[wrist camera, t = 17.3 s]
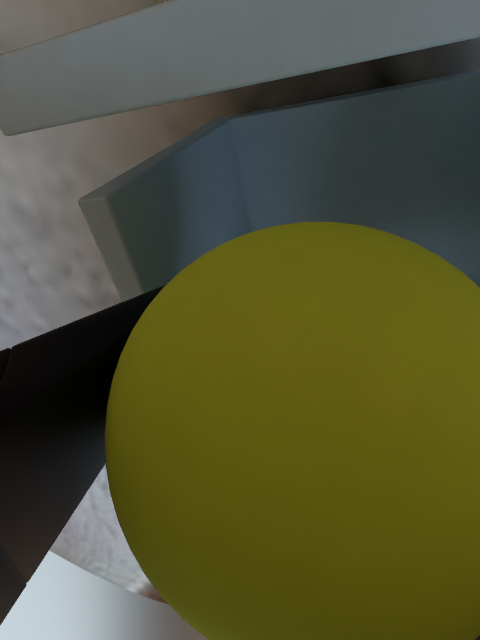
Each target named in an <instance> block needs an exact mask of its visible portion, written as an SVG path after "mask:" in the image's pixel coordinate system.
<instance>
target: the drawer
mask: <svg viewBox="0 0 480 640" xmlns="http://www.w3.org/2000/svg"><path fill="white" fill-rule="evenodd" d="M479 37H480V0H169V1H166V2H163V3H160V4H157V5H154V6H150V7H147V8H144V9H141V10H138V11H135V12H132V13H129V14H126V15H123V16H119V17H116V18H113V19H110V20H107V21H104V22H101V23H98V24H95V25H91V26H88V27H85V28H82V29H79V30H76V31H73V32H70V33H67V34H63V35H60V36H57V37H54V38H51V39H48V40H45V41H42V42H39V43H35V44H32V45H29V46H26V47H23V48H20V49H17V50H14V51H11V52H7V53H4V54H1V55H0V128H1V130H2V132H3V134H4V135H6V136H12V135H16V134H21V133H26V132H31V131H36V130H40V129H45V128H50V127H55V126H59V125H64V124H69V123H74V122H78V121H83V120H88V119H93V118H98V117H102V116H107V115H112V114H117V113H121V112H126V111H131V110H136V109H140V108H145V107H150V106H155V105H160V104H164V103H169V102H174V101H179V100H183V99H188V98H193V97H198V96H202V95H207V94H212V93H217V92H221V91H226V90H231V89H236V88H241V87H245V86H250V85H255V84H260V83H264V82H269V81H274V80H279V79H283V78H288V77H293V76H298V75H303V74H307V73H312V72H317V71H322V70H326V69H331V68H336V67H341V66H345V65H350V64H355V63H360V62H365V61H369V60H374V59H379V58H384V57H388V56H393V55H398V54H403V53H407V52H412V51H417V50H422V49H427V48H431V47H436V46H441V45H446V44H450V43H455V42H460V41H465V40H469V39H474V38H479ZM79 205H80V207H81V210H82V212H83V214H84V216H85V219H86V221H87V223H88V225H89V228H90V230H91V232H92V234H93V237H94V239H95V241H96V244H97V246H98V248H99V250H100V253H101V255H102V257H103V259H104V262H105V264H106V266H107V268H108V271H109V273H110V275H111V277H112V280H113V282H114V284H115V286H116V289H117V291H118V293H119V296H120V298H121V300H122V302H124V301H126V300H129V299H131V298H134V297H136V296H139V295H141V294H144V293H146V292H149V291H151V290H154V289H156V288H159V287H161V286H164V285H166V284H168V283H169V282H170V281H171V280H172V279H173V278H174V277H175V276H176V275H177V274H178V273H179V272H181V271H182V270H183V269H184V268H186V267H187V266H188V265H190V264H191V263H192V262H194V261H195V260H197V259H198V258H199V257H201V256H202V255H204V254H205V253H207V252H209V251H211V250H213V249H214V248H216V247H218V246H220V245H222V244H223V243H225V242H227V241H230V240H232V239H235V238H237V237H240V236H242V235H245V234H247V233H250V232H253V231H257V230H261V229H265V228H269V227H272V226H276V225H284V224H291V223H299V222H338V223H346V224H355V225H361V226H365V227H369V228H373V229H377V230H381V231H385V232H388V233H391V234H393V235H396V236H399V237H401V238H404V239H407V240H409V241H412V242H414V243H416V244H418V245H420V246H422V247H423V248H425V249H427V250H429V251H431V252H433V253H435V254H437V255H439V256H440V257H442V258H443V259H444V260H446V261H447V262H449V263H450V264H451V265H453V266H454V267H456V268H457V269H459V270H460V271H461V272H463V273H464V274H465V275H466V276H467V277H469V278H470V279H471V280H472V281H473V282H474V283H475V284H476V285H477V286H478V287H480V70H477V71H472V72H466V73H461V74H455V75H450V76H445V77H439V78H434V79H428V80H423V81H417V82H412V83H406V84H401V85H395V86H390V87H384V88H379V89H373V90H368V91H363V92H357V93H352V94H346V95H341V96H335V97H330V98H324V99H319V100H313V101H308V102H302V103H297V104H291V105H286V106H281V107H275V108H270V109H264V110H259V111H253V112H248V113H242V114H237V115H231V116H226V117H220V118H216V119H215V120H213V121H211V122H210V123H208V124H207V125H205V126H203V127H202V128H200V129H198V130H196V131H195V132H193V133H191V134H190V135H188V136H186V137H184V138H183V139H181V140H179V141H178V142H176V143H174V144H173V145H171V146H169V147H167V148H166V149H164V150H162V151H161V152H159V153H157V154H155V155H154V156H152V157H150V158H149V159H147V160H145V161H143V162H142V163H140V164H138V165H137V166H135V167H133V168H132V169H130V170H128V171H126V172H125V173H123V174H121V175H120V176H118V177H116V178H114V179H113V180H111V181H109V182H108V183H106V184H104V185H102V186H101V187H99V188H97V189H96V190H94V191H92V192H91V193H89V194H87V195H85V196H84V197H82V198H81V199H79Z"/></svg>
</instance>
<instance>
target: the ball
mask: <svg viewBox="0 0 480 640" xmlns="http://www.w3.org/2000/svg"><path fill="white" fill-rule="evenodd" d="M105 456H106V469H107V475H108V482H109V488H110V494H111V497H112V501H113V504H114V508H115V511H116V515H117V518H118V521H119V524H120V526H121V528H122V531H123V533H124V536H125V538H126V540H127V543H128V545H129V547H130V549H131V551H132V553H133V554H134V556H135V558H136V560H137V561H138V563H139V565H140V567H141V568H142V570H143V572H144V574H145V575H146V576H147V578H148V579H149V580H150V582H151V583H152V584H153V586H154V587H155V588H156V590H157V591H158V592H159V594H160V595H161V596H162V598H163V599H164V600H165V601H166V602H167V603H168V604H169V605H170V606H171V607H172V608H173V609H174V610H175V611H176V612H177V613H178V614H179V615H180V616H181V617H182V618H183V620H185V621H186V622H187V623H188V624H190V625H191V626H192V627H193V628H195V629H196V630H197V631H198V632H199V633H201V634H202V635H203V636H204V637H206V638H207V639H208V640H475V639H476V638H477V637H478V636H480V287H478V286H477V285H476V284H475V283H474V282H473V281H472V280H471V279H470V278H469V277H467V276H466V275H465V274H464V273H463V272H461V271H460V270H459V269H457V268H456V267H454V266H453V265H451V264H450V263H449V262H447V261H446V260H444V259H443V258H442V257H440V256H439V255H437V254H435V253H433V252H431V251H429V250H427V249H425V248H423V247H422V246H420V245H418V244H416V243H414V242H412V241H409V240H407V239H404V238H401V237H399V236H396V235H393V234H391V233H388V232H385V231H381V230H377V229H373V228H369V227H365V226H361V225H355V224H346V223H338V222H299V223H291V224H284V225H276V226H272V227H269V228H265V229H261V230H257V231H253V232H250V233H247V234H245V235H242V236H240V237H237V238H235V239H232V240H230V241H227V242H225V243H223V244H222V245H220V246H218V247H216V248H214V249H213V250H211V251H209V252H207V253H205V254H204V255H202V256H201V257H199V258H198V259H197V260H195V261H194V262H192V263H191V264H190V265H188V266H187V267H186V268H184V269H183V270H182V271H181V272H179V273H178V274H177V275H176V276H175V277H174V278H173V279H172V280H171V281H170V282H169V283H168V284H167V285H166V286H165V287H164V288H163V289H162V290H161V291H160V292H159V293H158V295H157V296H156V297H155V298H154V300H153V301H152V302H151V303H150V304H149V306H148V307H147V308H146V309H145V311H144V313H143V314H142V316H141V317H140V319H139V320H138V322H137V324H136V325H135V327H134V328H133V330H132V332H131V334H130V336H129V338H128V340H127V342H126V344H125V347H124V349H123V351H122V353H121V355H120V358H119V361H118V364H117V367H116V370H115V373H114V376H113V379H112V384H111V389H110V394H109V399H108V404H107V414H106V426H105Z"/></svg>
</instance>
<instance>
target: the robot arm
mask: <svg viewBox="0 0 480 640" xmlns="http://www.w3.org/2000/svg"><path fill="white" fill-rule="evenodd" d="M166 285H167V284H166ZM166 285H164V286H161V287H159V288H156V289H154V290H151V291H149V292H146V293H144V294H141V295H139V296H136V297H134V298H131V299H129V300H126V301H124V302H121V303H119V304H116V305H114V306H112V307H109V308H107V309H104V310H102V311H99V312H97V313H94V314H92V315H89V316H87V317H84V318H82V319H79V320H77V321H74V322H72V323H69V324H67V325H64V326H62V327H59V328H57V329H55V330H52V331H50V332H47V333H45V334H42V335H40V336H37V337H35V338H32V339H30V340H27V341H25V342H22V343H20V344H17V345H15V346H13V347H12V349H10V348H7V349H5V350H2V351H0V625H1V623H2V622H3V620H4V619H5V617H6V616H7V614H8V613H9V611H10V610H11V608H12V607H13V605H14V604H15V602H16V600H17V599H18V597H19V596H20V594H21V593H22V591H23V590H24V588H25V587H26V583H27V582H28V581H29V580H30V579H31V577H32V575H33V574H34V572H35V571H36V569H37V568H38V566H39V565H40V563H41V562H42V560H43V559H44V557H45V555H46V554H47V552H48V551H49V549H50V548H51V546H52V545H53V543H54V542H55V540H56V539H57V537H58V536H59V534H60V532H61V531H62V529H63V528H64V526H65V525H66V523H67V522H68V520H69V519H70V517H71V516H72V514H73V512H74V511H75V509H76V508H77V506H78V505H79V503H80V502H81V500H82V499H83V497H84V496H85V494H86V492H87V491H88V489H89V488H90V486H91V485H92V483H93V482H94V480H95V479H96V477H97V476H98V474H99V473H100V471H101V469H102V468H103V466H104V465H105V463H106V456H105V426H106V414H107V404H108V399H109V394H110V389H111V384H112V379H113V376H114V373H115V370H116V367H117V364H118V361H119V358H120V355H121V353H122V351H123V349H124V347H125V344H126V342H127V340H128V338H129V336H130V334H131V332H132V330H133V328H134V327H135V325H136V324H137V322H138V320H139V319H140V317H141V316H142V314H143V313H144V311H145V309H146V308H147V307H148V306H149V304H150V303H151V302H152V301H153V300H154V298H155V297H156V296H157V295H158V293H159V292H160V291H161V290H162V289H163V288H164V287H165V286H166ZM475 640H480V636H478V637H477V638H476V639H475Z"/></svg>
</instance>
